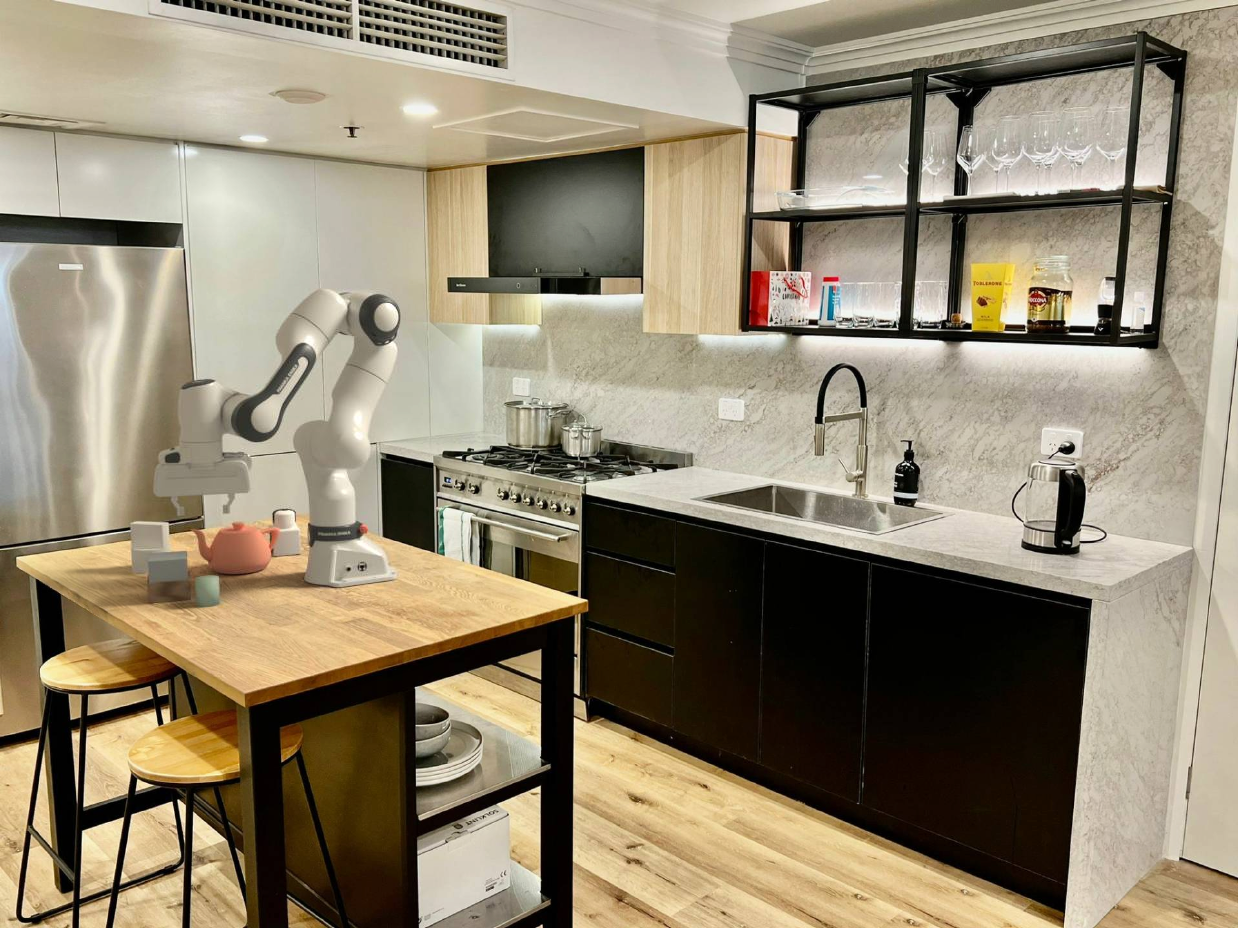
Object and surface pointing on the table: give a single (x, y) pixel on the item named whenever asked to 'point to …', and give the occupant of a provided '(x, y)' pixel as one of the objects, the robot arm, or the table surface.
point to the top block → (168, 566)
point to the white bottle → (286, 533)
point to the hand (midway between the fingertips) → (203, 514)
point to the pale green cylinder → (207, 591)
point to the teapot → (238, 548)
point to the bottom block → (169, 591)
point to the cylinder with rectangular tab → (147, 543)
